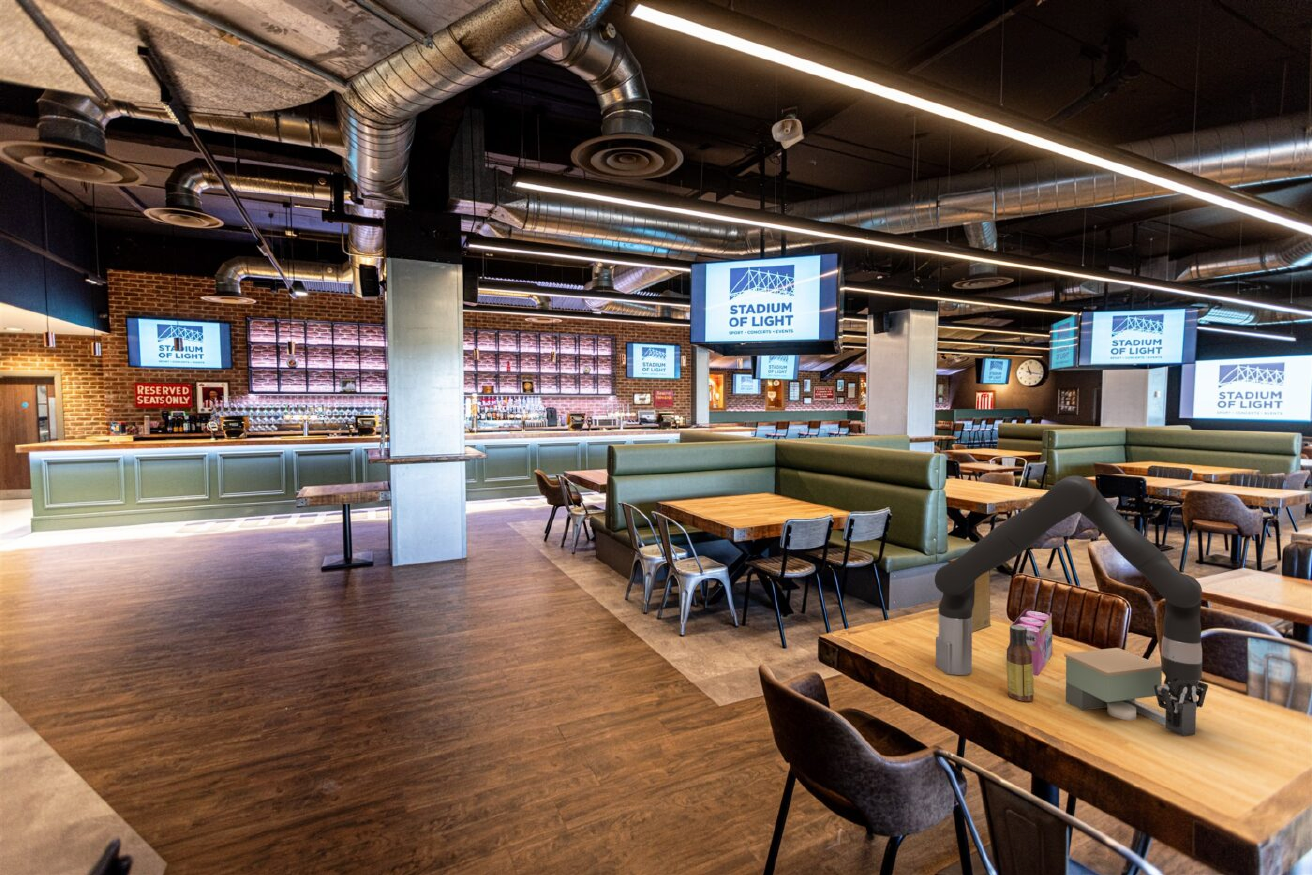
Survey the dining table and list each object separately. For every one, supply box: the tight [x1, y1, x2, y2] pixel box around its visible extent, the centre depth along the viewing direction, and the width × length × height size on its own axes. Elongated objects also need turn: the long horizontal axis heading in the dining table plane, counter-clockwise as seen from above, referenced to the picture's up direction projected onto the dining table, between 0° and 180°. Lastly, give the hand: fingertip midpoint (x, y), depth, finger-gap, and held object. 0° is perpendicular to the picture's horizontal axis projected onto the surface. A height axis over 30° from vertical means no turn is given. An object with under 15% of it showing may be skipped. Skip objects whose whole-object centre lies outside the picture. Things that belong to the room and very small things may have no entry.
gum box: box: [1009, 608, 1053, 676], centre depth 190 cm, size 24×8×14 cm, turn 137°
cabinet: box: [1063, 647, 1163, 711], centre depth 159 cm, size 18×13×13 cm
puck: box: [1106, 701, 1137, 721], centre depth 156 cm, size 6×6×2 cm
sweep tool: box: [1126, 695, 1197, 738], centre depth 152 cm, size 4×15×8 cm, turn 11°
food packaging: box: [947, 558, 991, 633], centre depth 222 cm, size 13×9×25 cm
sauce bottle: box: [1006, 624, 1035, 702], centre depth 166 cm, size 7×6×20 cm
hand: (1180, 724), depth 147 cm, fingers closed on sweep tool, 4 cm apart
